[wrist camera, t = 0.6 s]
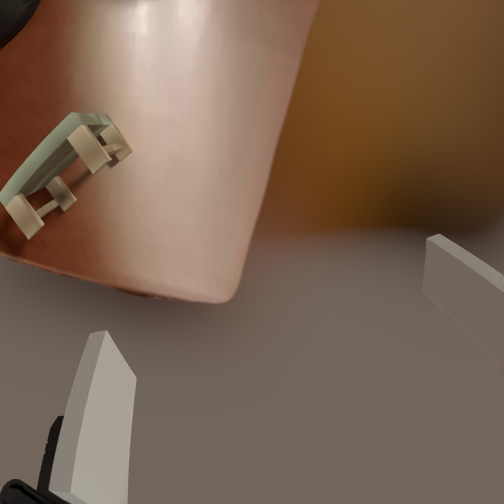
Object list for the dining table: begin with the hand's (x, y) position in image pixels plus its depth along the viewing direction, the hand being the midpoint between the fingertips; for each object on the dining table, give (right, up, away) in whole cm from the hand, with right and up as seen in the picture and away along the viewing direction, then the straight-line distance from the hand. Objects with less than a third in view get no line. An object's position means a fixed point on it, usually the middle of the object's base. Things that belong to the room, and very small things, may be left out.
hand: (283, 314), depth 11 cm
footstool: (-21, +13, +20) cm, 32 cm away
